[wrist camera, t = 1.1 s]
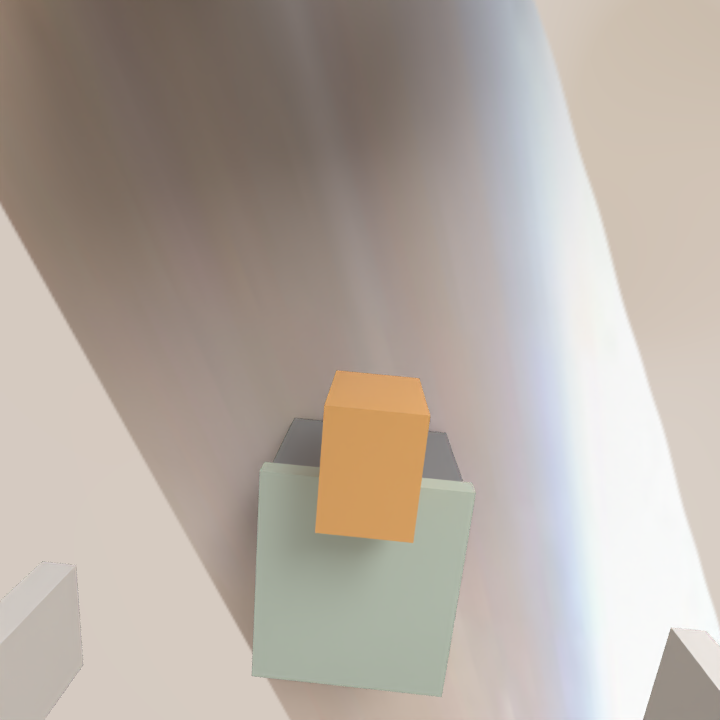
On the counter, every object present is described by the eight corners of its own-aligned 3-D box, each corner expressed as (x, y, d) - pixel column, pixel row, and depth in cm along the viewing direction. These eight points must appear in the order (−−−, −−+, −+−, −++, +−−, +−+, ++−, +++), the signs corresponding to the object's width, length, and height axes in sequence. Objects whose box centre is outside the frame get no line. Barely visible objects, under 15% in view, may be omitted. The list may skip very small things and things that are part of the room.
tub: (294, 418, 30) (270, 467, 24) (445, 432, 30) (465, 487, 23) (285, 572, 33) (261, 656, 27) (423, 587, 33) (434, 675, 26)
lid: (273, 358, 23) (237, 396, 17) (483, 378, 23) (518, 424, 17) (260, 645, 28) (229, 752, 22) (437, 664, 27) (452, 778, 22)
